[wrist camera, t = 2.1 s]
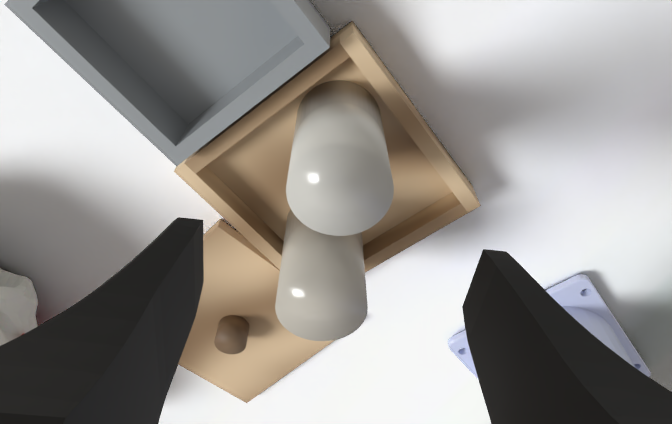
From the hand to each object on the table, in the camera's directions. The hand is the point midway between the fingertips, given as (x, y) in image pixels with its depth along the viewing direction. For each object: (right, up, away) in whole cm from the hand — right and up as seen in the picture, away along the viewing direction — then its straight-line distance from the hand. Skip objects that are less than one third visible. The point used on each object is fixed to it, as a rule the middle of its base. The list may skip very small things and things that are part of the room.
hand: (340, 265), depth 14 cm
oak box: (0, +3, +9) cm, 10 cm away
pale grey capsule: (0, +5, +8) cm, 9 cm away
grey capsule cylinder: (-1, +1, +10) cm, 10 cm away
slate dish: (-5, +9, +6) cm, 12 cm away
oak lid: (-5, -4, +14) cm, 16 cm away
